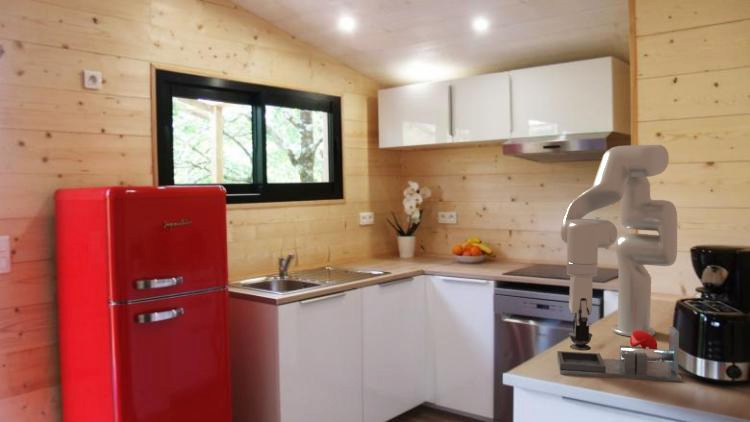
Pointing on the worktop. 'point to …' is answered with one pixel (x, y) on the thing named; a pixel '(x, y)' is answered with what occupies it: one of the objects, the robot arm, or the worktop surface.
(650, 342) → the cap
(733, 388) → the worktop surface
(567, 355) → the jig
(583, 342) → the salt shaker
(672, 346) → the shaft
